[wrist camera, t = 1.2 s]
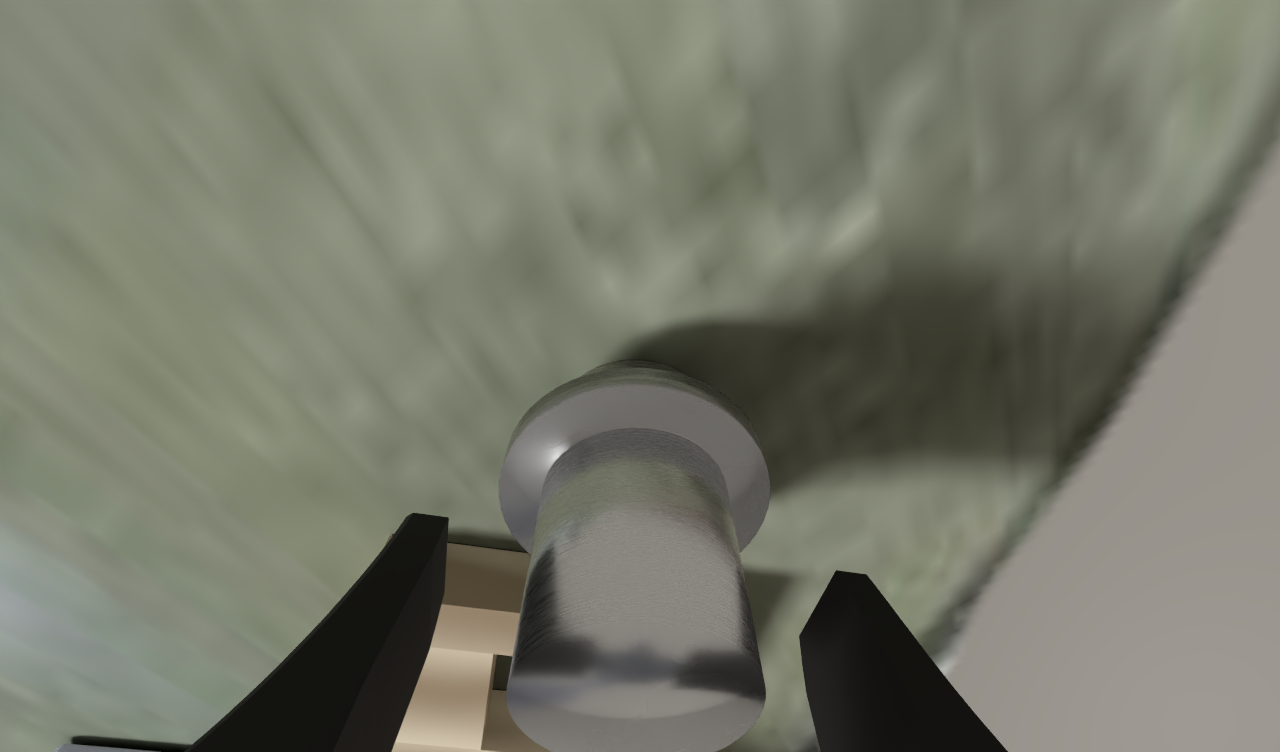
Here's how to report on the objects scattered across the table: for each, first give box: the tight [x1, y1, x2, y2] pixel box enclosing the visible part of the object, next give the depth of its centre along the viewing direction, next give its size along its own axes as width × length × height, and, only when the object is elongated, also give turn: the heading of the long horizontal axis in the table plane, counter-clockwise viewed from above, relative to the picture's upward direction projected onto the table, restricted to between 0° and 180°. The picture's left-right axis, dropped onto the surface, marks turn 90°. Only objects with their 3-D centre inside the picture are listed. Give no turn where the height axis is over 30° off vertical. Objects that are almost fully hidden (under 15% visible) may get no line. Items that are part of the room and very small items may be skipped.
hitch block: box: [386, 536, 552, 752], centre depth 20 cm, size 13×10×2 cm
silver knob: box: [499, 360, 770, 752], centre depth 13 cm, size 6×6×7 cm
